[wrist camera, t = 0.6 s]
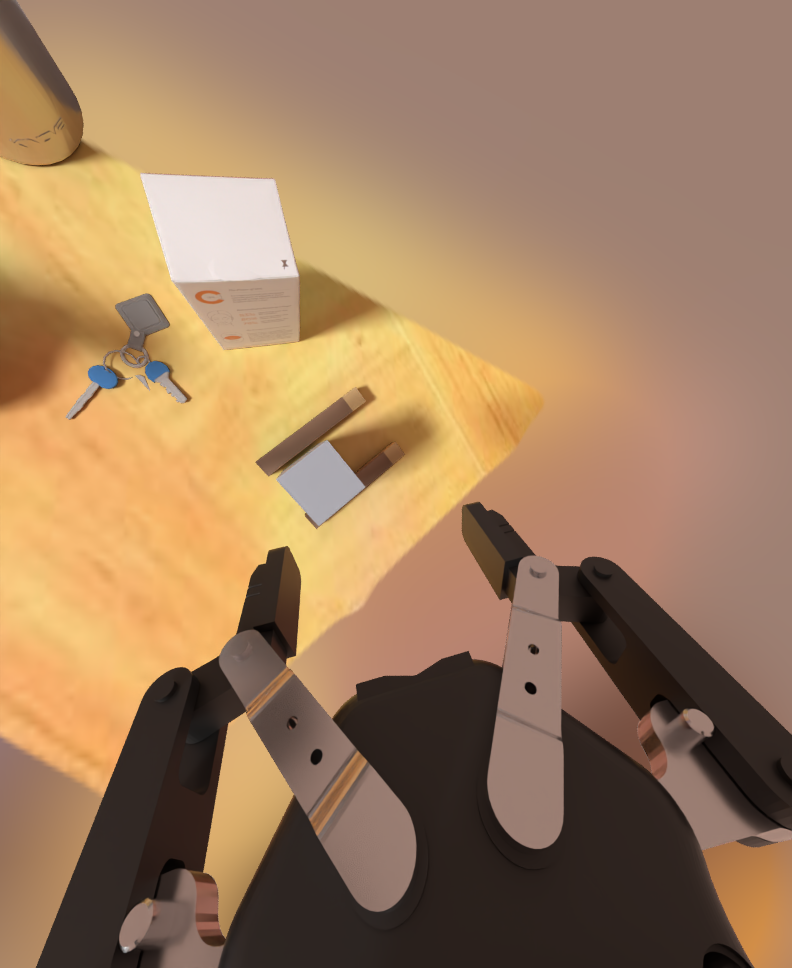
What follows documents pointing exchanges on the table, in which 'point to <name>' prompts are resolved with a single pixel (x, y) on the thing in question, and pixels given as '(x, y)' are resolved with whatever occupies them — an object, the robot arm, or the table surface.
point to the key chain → (142, 322)
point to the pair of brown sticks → (317, 429)
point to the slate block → (320, 482)
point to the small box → (229, 255)
